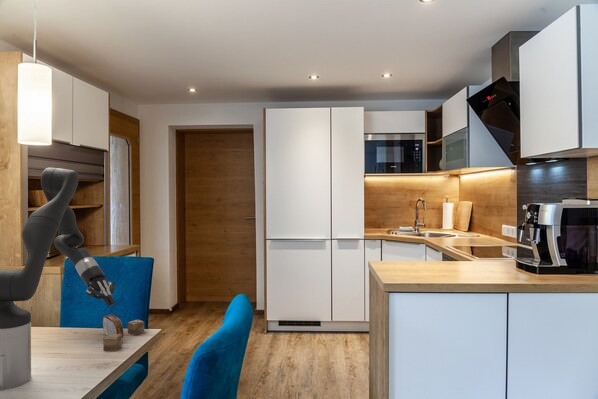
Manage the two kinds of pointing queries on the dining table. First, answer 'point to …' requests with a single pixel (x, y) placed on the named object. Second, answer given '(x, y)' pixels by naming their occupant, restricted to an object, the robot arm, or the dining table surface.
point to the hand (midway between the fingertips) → (112, 304)
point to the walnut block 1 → (112, 342)
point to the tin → (112, 325)
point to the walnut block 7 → (136, 327)
